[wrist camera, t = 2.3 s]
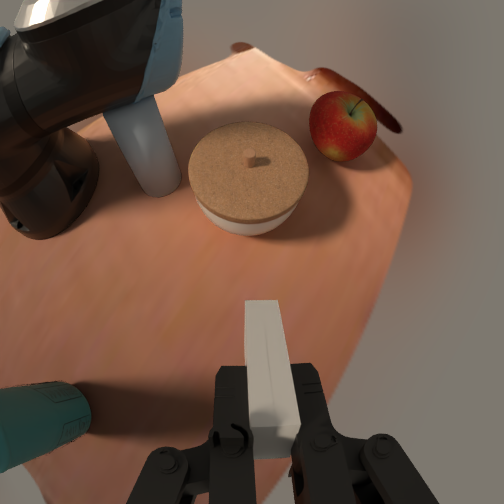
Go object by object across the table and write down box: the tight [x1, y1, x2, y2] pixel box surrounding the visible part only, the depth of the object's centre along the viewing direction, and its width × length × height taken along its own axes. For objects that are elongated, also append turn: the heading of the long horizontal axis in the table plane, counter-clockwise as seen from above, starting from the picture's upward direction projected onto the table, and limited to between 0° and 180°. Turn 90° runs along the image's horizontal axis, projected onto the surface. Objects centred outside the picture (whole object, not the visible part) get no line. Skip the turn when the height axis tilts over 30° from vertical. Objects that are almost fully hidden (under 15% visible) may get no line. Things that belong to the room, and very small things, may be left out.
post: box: [103, 95, 181, 197], centre depth 28 cm, size 5×5×12 cm
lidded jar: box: [188, 122, 309, 236], centre depth 28 cm, size 11×11×9 cm
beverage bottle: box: [0, 380, 91, 473], centre depth 15 cm, size 6×7×20 cm
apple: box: [309, 91, 377, 161], centre depth 31 cm, size 8×8×10 cm
